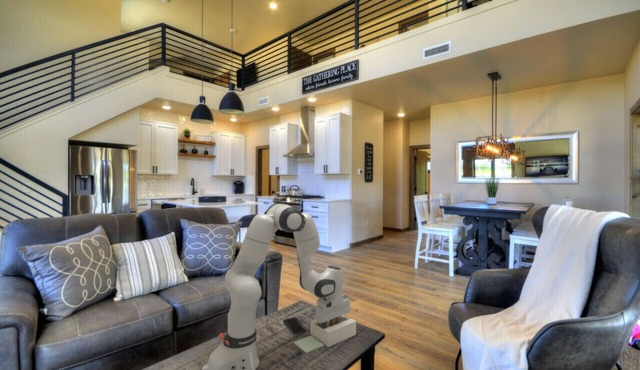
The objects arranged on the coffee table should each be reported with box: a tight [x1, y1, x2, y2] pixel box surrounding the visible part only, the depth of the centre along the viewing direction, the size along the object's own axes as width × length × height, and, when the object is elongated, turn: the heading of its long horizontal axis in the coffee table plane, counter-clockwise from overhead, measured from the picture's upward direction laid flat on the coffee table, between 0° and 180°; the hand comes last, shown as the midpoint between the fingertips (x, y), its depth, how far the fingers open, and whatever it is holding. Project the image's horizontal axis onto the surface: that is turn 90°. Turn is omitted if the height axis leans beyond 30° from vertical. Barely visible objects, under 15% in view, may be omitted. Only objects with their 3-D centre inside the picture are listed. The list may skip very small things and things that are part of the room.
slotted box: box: [309, 315, 357, 348], centre depth 150 cm, size 18×14×7 cm
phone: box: [282, 316, 307, 336], centre depth 158 cm, size 8×1×15 cm
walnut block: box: [329, 317, 339, 326], centre depth 150 cm, size 4×4×7 cm
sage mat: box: [293, 334, 325, 354], centre depth 141 cm, size 10×10×1 cm
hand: (333, 325), depth 150 cm, fingers closed on walnut block, 4 cm apart
